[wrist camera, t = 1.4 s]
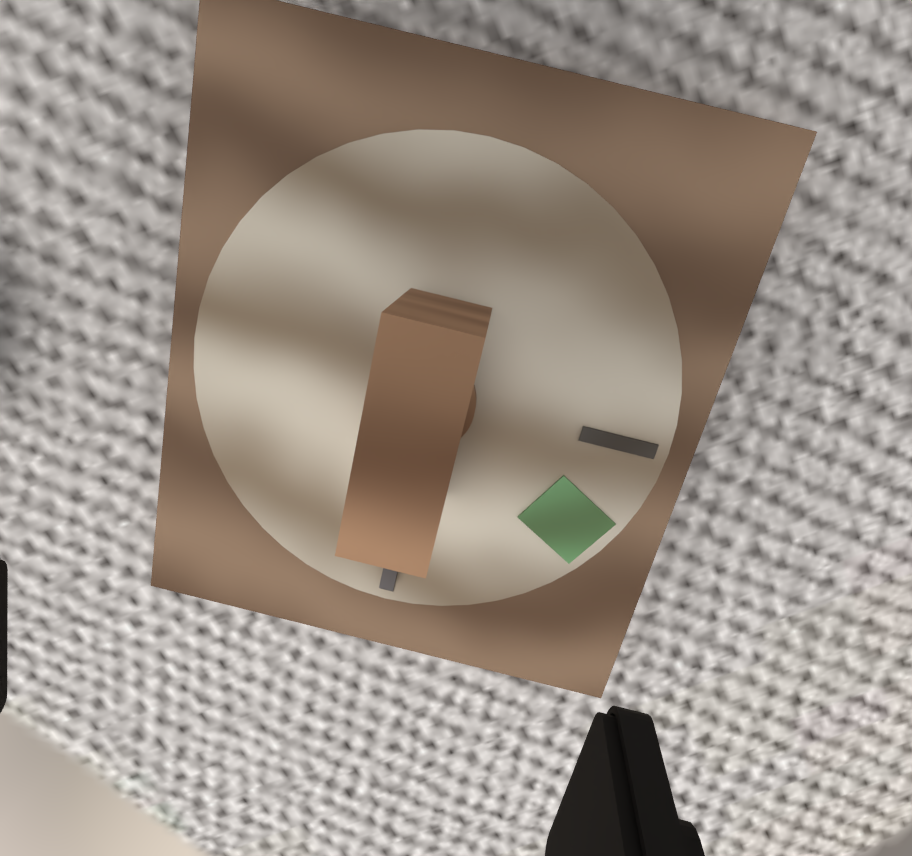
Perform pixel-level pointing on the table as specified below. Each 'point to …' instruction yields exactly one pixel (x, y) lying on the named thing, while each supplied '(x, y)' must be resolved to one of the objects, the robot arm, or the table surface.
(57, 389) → the table surface
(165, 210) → the table surface
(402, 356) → the wing knob
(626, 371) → the dial board
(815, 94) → the table surface
